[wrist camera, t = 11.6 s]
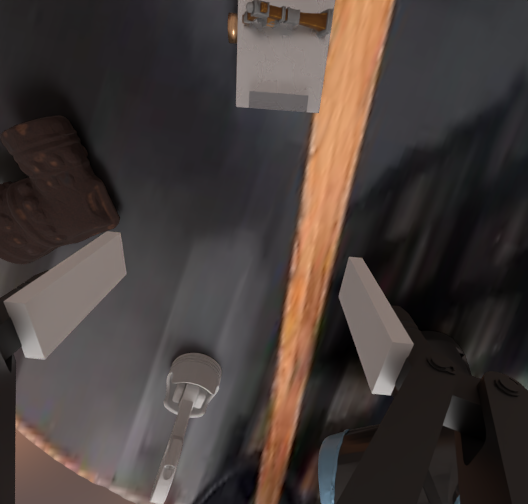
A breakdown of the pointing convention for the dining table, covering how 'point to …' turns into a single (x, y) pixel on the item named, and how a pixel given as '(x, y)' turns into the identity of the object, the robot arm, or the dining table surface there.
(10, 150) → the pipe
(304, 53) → the machine vise
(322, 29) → the wooden post with brackets
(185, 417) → the engine component
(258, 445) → the dining table surface
